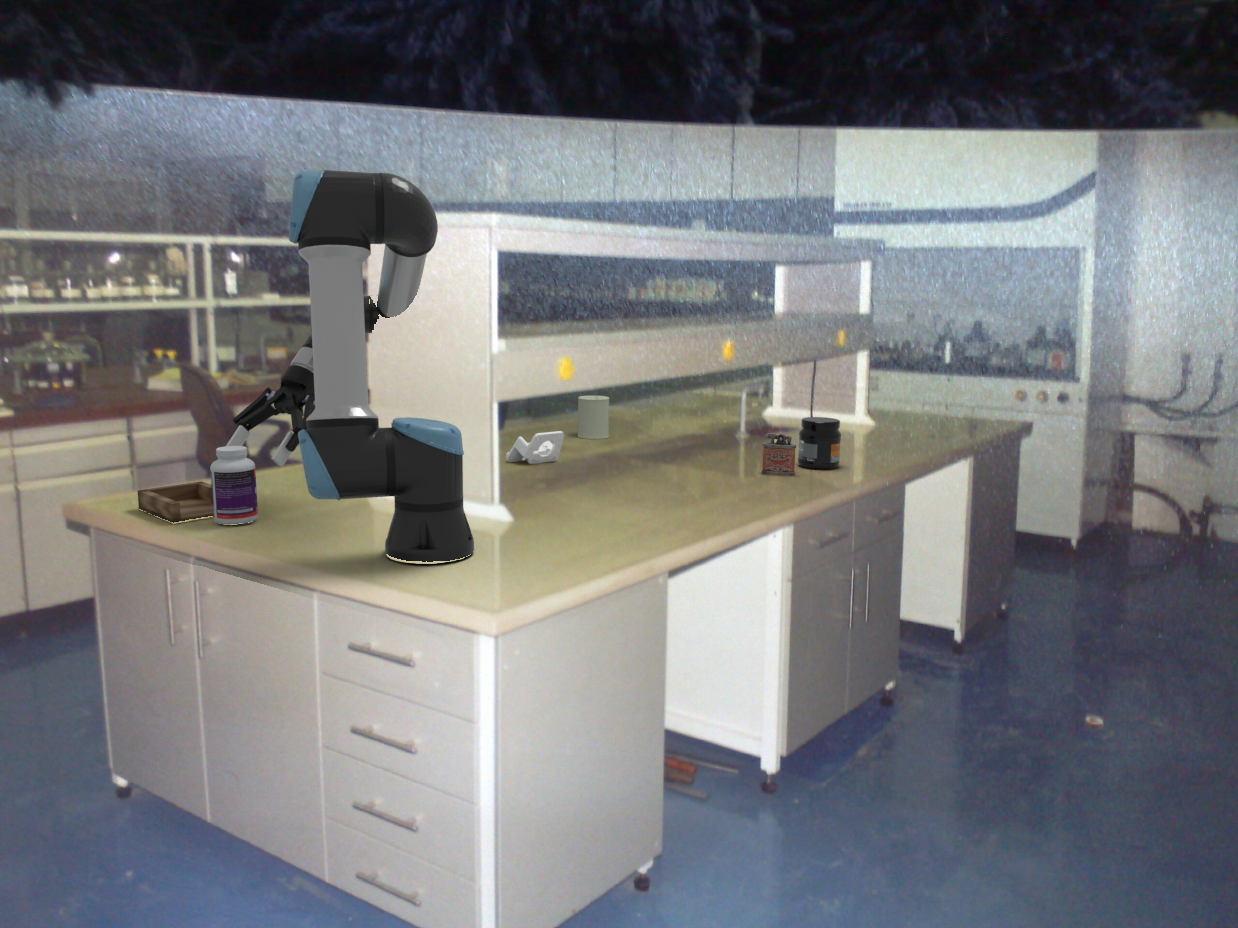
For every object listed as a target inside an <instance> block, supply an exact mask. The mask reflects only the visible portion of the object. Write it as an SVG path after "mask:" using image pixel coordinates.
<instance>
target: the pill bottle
mask: <svg viewBox="0 0 1238 928" xmlns="http://www.w3.org/2000/svg"><path fill="white" fill-rule="evenodd" d="M215 455H216V457H217V459H216V460H214V461H213V462H212V463H211V465H210V467H209V468H210V469H209V471H210V483H211V484H210V485H211V486H212V501H213V517H214V518H213V521H214V522H215V523H216V524H218V523H220V524H239V523H248V522H251V521H254V520H255V521H256V520H258V518H259V511H258V510H259V509H258V508H259V507H258V494H257V493H258V491H257V478H256V477H257V476H256V473H257V472H256V464H255V462H254V461H253V460H252V459H250V458H247V456H248V448H247V446H244V445H242V446H226V445H225V446H219V447H217V448H216V449H215ZM255 521H254V522H255ZM220 524H219V525H220ZM248 524H249V523H248Z"/></svg>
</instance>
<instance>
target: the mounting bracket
mask: <svg viewBox="0 0 1238 928" xmlns="http://www.w3.org/2000/svg"><path fill="white" fill-rule="evenodd" d="M564 439H565V433H564V432H563V431H562V430H558V431H548V432H537V433H535V434H534V435H533V437H532V438H531V440H530V441H529V442H527V441H526V440H525V439H524V437H523V436H518V437H517V439H516V441H515V442H514V443H513V446H512V447H511V449H510V450H509V451H507V452H506V454H505V459H506V461H507V462H509V463H514V462H521V461H527V463H529V465H532V464H542V463H550V462H551V463H552V462H557V460H558V459H559V456H560V452H561V448H562V446H563V445H562V444H563V441H564ZM552 442H553V443H552Z"/></svg>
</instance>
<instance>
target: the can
mask: <svg viewBox="0 0 1238 928" xmlns="http://www.w3.org/2000/svg"><path fill="white" fill-rule="evenodd" d="M577 403H578V404H577V405H578V407H577V409H578V413H577V414H578V415H577V417H578V418H577V423H578V424H577V425H578V426H577V430H578V431H577V438H580V439H583V440H604V439H609V438H610V434H609V433H610V432H609V430H610V428H609V426H610V425H609V422H610V421H609V420H610V414H609V413H610V396H605V395H581V396H578V397H577Z"/></svg>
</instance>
